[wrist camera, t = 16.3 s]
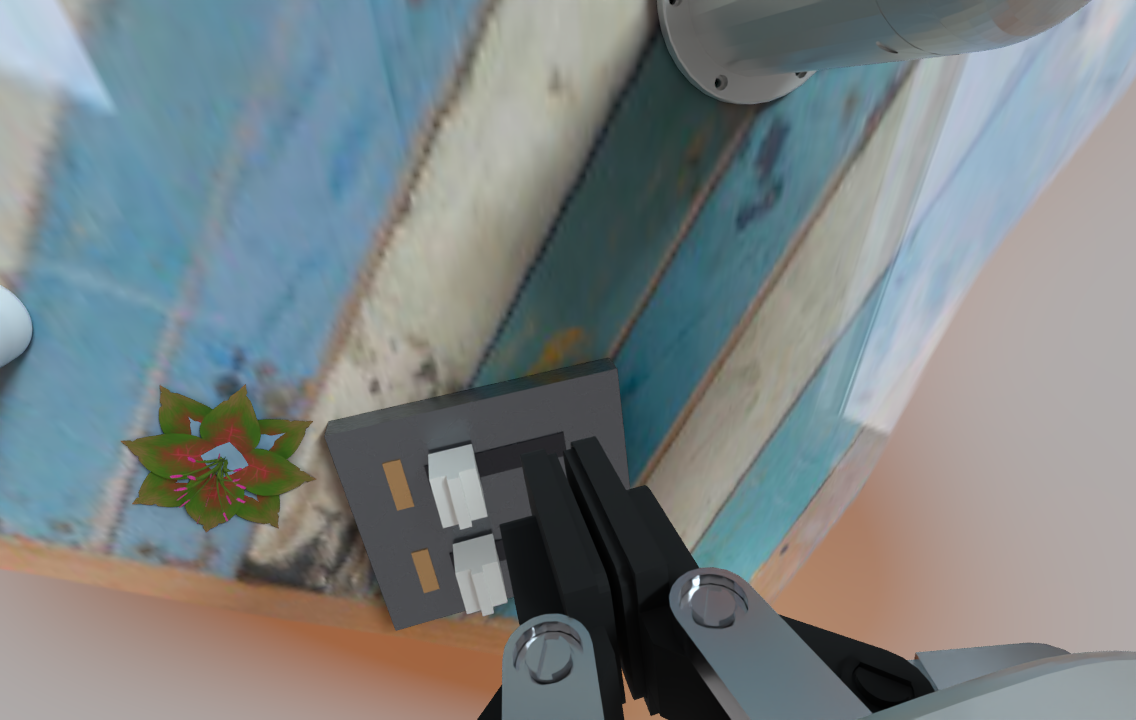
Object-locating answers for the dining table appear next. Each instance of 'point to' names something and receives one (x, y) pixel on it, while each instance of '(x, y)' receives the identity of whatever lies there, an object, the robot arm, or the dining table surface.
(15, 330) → the drinking glass
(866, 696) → the robot arm
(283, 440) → the lily flower
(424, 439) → the breaker panel
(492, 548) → the block
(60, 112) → the dining table surface
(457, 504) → the breaker
